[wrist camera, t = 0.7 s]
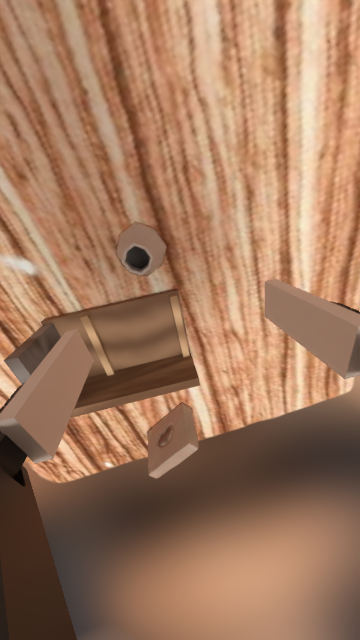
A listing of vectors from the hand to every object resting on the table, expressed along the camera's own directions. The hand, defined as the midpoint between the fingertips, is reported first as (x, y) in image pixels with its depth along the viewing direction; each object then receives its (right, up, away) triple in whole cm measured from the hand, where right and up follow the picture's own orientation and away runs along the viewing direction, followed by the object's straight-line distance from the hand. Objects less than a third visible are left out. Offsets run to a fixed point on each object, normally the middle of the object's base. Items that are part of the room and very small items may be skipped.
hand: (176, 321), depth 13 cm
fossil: (-2, -23, +32) cm, 40 cm away
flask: (-6, +11, +15) cm, 20 cm away
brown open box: (-10, -3, +21) cm, 23 cm away
